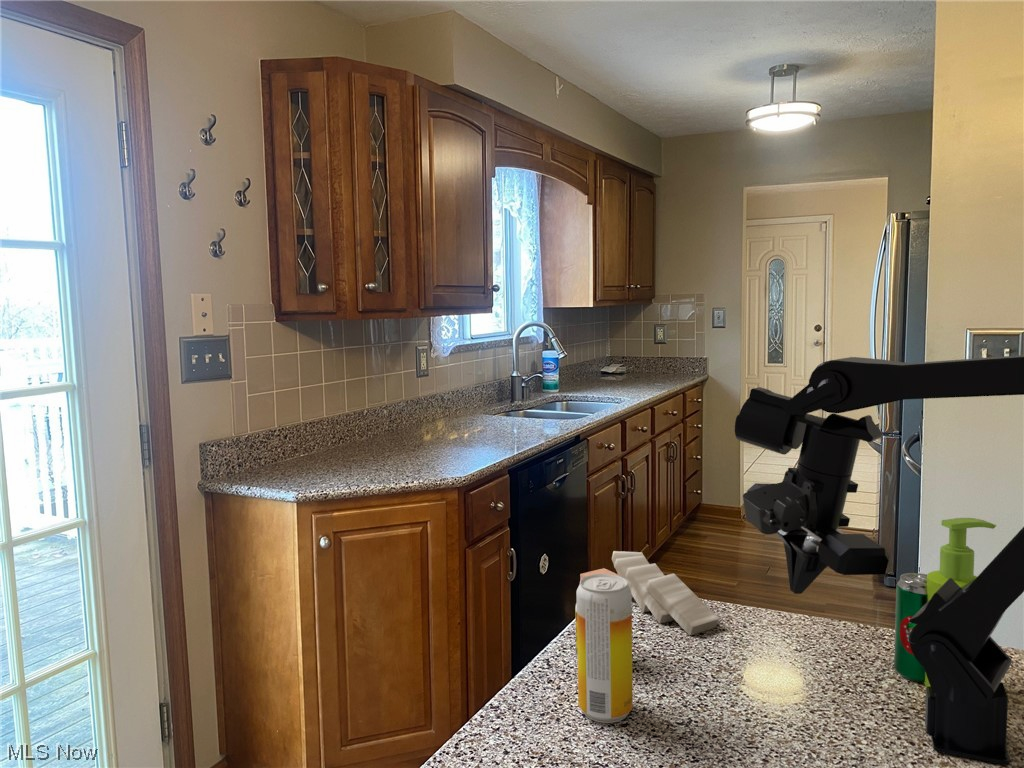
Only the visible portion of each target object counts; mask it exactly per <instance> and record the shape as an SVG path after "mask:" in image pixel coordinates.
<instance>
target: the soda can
mask: <svg viewBox="0 0 1024 768" xmlns="http://www.w3.org/2000/svg"><path fill="white" fill-rule="evenodd" d="M895 586H896V588H895V590H896V591H895V621H894V622H895V623H894V652H893V653H894V655H893V657H894V658H893V660H894V662H893V664H894V665H893V667H894V669H895V670H896V672H897V673H898V674H899V675H900V676H901V677H903V678H904V679H907V680H909V681H910V682H915V683H921V684H924V681H925V669H924V666H922V665H921V663H920V662H919V661H918V660H917V659H916V658H915V656H914V654H913V652H912V651H911V647H910V642H909V635H910V632H911V631H912V629H913V628H914V627H915V625H916V624H914V623H911V622H910V619H911V618H912V617H913V616H914V615H915V614H916V613H917V612H918V611H919V610H920V609H921V608H922V607H923V606H924V605H925V604H926V603H927V602H928V594H927V574H925V573H920V572H919V573H917V572H908V573H902V574H901V575H900V576H899V580H898V581H897V583H896V584H895Z"/></svg>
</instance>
